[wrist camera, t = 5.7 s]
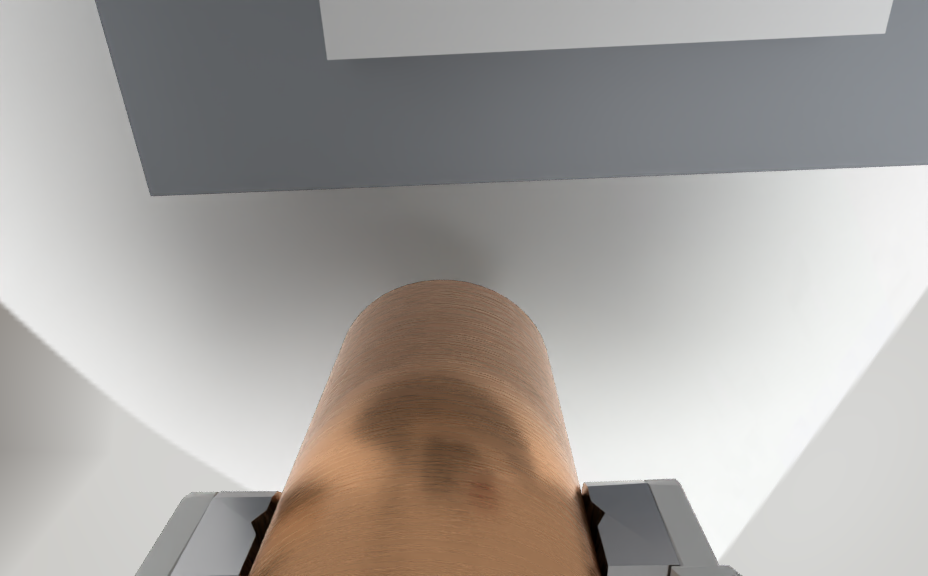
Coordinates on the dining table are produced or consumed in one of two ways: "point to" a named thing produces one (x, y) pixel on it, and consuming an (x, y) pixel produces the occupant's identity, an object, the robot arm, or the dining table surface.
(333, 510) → the spout can
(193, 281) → the dining table surface
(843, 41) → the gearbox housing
